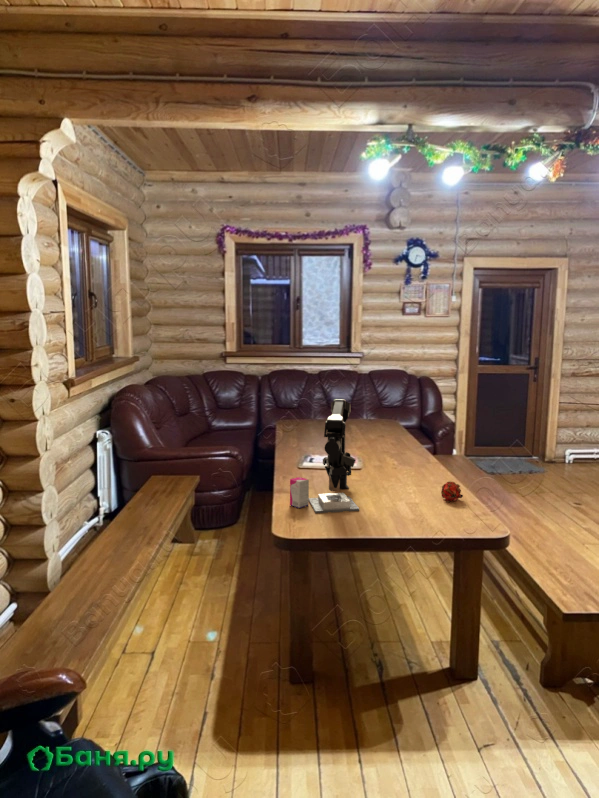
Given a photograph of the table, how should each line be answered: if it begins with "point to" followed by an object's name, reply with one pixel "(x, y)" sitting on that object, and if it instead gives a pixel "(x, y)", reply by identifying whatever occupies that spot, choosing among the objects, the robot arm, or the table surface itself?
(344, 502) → the jig
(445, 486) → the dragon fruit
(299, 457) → the table surface
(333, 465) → the robot arm
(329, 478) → the walnut dowel
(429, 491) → the table surface
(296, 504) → the supplement box
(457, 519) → the table surface
